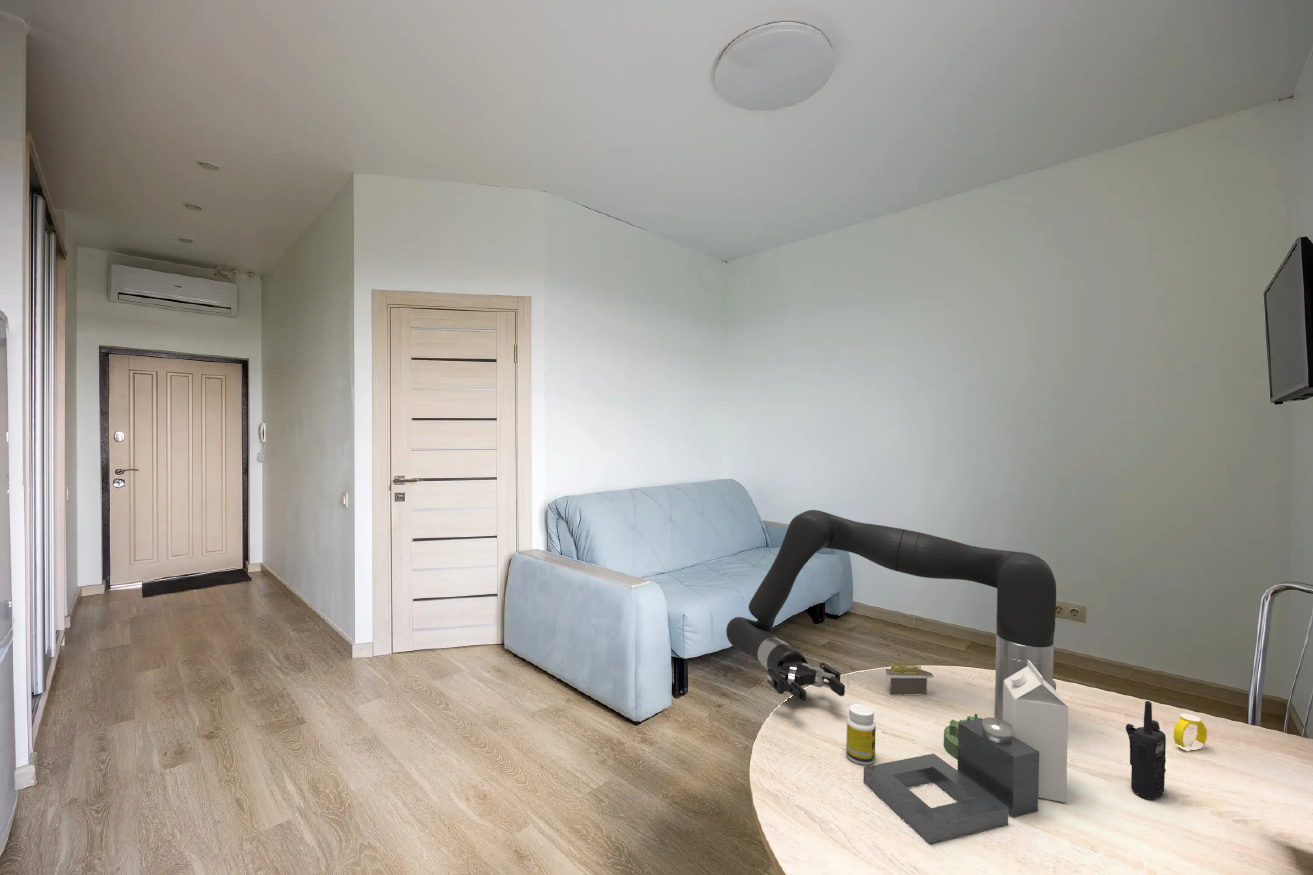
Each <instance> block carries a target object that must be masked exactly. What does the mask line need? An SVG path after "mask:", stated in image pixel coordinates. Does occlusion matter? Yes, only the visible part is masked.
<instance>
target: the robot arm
mask: <svg viewBox="0 0 1313 875" xmlns="http://www.w3.org/2000/svg"><path fill="white" fill-rule="evenodd" d="M785 532H786V533H785V536H784V537H783V540H782V543H781V546H780V548H779V550H778V553H777V555H776V557H775V559H774V561H773V563H772V565H771V567H770V568H769V570H768V572H767V574H766V575H765V576H764V578H763V580H762V581H761V583H760V584H759V586H758V588H757V590H756V591H755V593H754V595H752V598H751V600H750V601H749V603H748V611H749V613H750V614H751V615H752V616H753V617H754V618H755V619H756V620H752V619H749V618H746V617H744V616H743V617H741V616H736V617H734V618H732V619H730V620H729V622H728V623H727V625H726V629H725V632H726V633H725V635H726V638H727V640H728V642H729V644H731V645H732V647H734V648H735V649H736V650H738V651H741V652H742V653H745V654H746V655H749V656H751V657H752V658H753V659H754V660H755V661H757V662H758V663H759V664H760V666H762V667H763V669H764V670H765V671H766V672H767V674H766V675H767V676H766V682H767V683H768V684H769V685H770V686H771V688H773V689H774V691H775V692H776V693H777V694H780V695H782V694H783V695H784V693H785V692H787V694H789V695H792V696H793V697H794V698H795V699H797V700H799V701H800V702H802V703H803V702H806V701H807V691H806V690H805V688H803V686H809V685H810V686H812V687H813V686H814V687H817V688H820V689H821V688H822V687H825V688H829V689H830V690H831V691H832V692H834V693H835V694H836V695H838V696H839V697H845V693H846V691H845V690H846V685H845V684H844V683H842V682H841V676H842V675H841V672H840V671H838V670H836V669H835V668H833V667H832V666H830V665H829V664H828V663H825V662H820V663H819V666H814V665H812V664H809V663H808V661H807V659H806V658H805V656H804V655H803V654H802V653H801V652H800V651H798V650H797V649H796V648H794V647H793V646H791V645H790V644H789V643H787V642H786V641H784V640H782V639H780V638H778V637H777V636H776V635H774V634H772V631H773V628H774V624H775V621H776V618H777V616H778V614H780V611H781V610H782V608H783V607H784V605H785V603H786V602H787V600H788V597H789V596H790V594H791V591H792V588H793V586H794V584H795V582H796V580H797V578H798V576H799V574H800V573H801V571H802V569H803V568H804V566H805V565H806V564H807V563H808V562H809V561H810V559H812V557H813V556H814V555H816V553H817V552H819V551H821V550H822V549H830V550H831V549H832V550H837V551H843V552H848V553H852V554H855V555H858V556H860V557H862V558H864V559H866V560H868V561H870V562H872V563H874V564H876V565H878V566H880V567H883V568H885V569H887V570H890V571H894V572H898V573H903V574H907V575H911V576H914V577H920V578H926V579H927V578H928V579H938V580H962V581H969V582H974V583H977V584H982V585H984V586H987V587H988V586H989V587H992V588H995V589H996V595H997V596H996V623H995V624H996V630H995V632H996V633H995V634H996V638H995V640H996V642H995V643H996V644H995V684H994V686H995V687H994V718H998V719H1001V720H1003V685H1004V680H1005V679H1007V678H1008V677H1010V676H1012V675H1013V674H1015V673H1017V672H1018V671H1020V670H1022V669H1023V668H1025V667H1027V666H1028V660H1029V661H1030V662H1031V663H1032V664H1033V666H1034V667H1035V668H1036V669H1037V671H1038V672H1039V673H1040V674H1041V676H1042V677H1043V679H1044V680H1045V681H1046V682H1047V683H1048V684H1049V685H1050V686H1052V687H1053V689H1054V690H1055V691H1056V692H1057V683H1056V681H1055V680H1054V646H1055V645H1054V643H1055V642H1054V641H1055V640H1054V639H1055V632H1056V612H1057V609H1056V608H1057V583H1056V582H1057V581H1056V579H1055V575H1054V573H1053V571H1052V569H1051V567H1050V565H1049V564H1048V563H1047V562H1046V561H1045V560H1044V559H1042V558H1041V557H1039V556H1037V555H1035V554H1033V553H1029V552H1021V551H1015V550H1013V551H1012V550H1002V549H996V548H995V549H993V548H987V547H980V546H975V545H970V544H966V543H962V542H959V541H956V540H953V539H952V540H951V539H948V538H944V537H940V536H936V535H932V534H928V533H924V532H919V531H914V530H911V529H910V530H909V529H905V528H898V527H893V526H887V525H881V524H873V523H866V522H859V521H855V520H852V519H848V518H844V517H841V516H838V515H835V514H831V513H828V512H826V511H823V510H818V509H808V510H805V511H803V512H801V513H799V514H797V515H795V516H794V517H793V518H791V520H790V523H789V525H788V527H787V530H786V531H785ZM817 675H818V680H817V681H816V679H817V678H816V676H817ZM825 680H827V681H828V682H827V681H825Z"/></svg>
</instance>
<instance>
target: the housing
mask: <svg viewBox="0 0 1313 875" xmlns="http://www.w3.org/2000/svg"><path fill="white" fill-rule="evenodd" d="M981 718H982V719H976V720H970V721H965V722H959V725H958V760H957V769H956V768H954V767H953V766H952V765H951V764H949V763H948V762H946V761H945V760H944V759H943V758H941V757H940V756H938V755H937V754H935V753H930V754H925V755H924V754H923V755H920V756H914V757H910V758H904V759H899V760H898V759H897V760H894V761H888V762H884V763H879V764H871V765H867V766H863V784H865V785H866V787H867V788H869V789H870V790H871V791H872V792H873V793H874V794H875V795H876V796H878V797H879V799H880V800H882V801H883V803H885V804H886V806H888V807H889V808H890V809H891V810H892V811H893V812H894V813H895V814H896V815H898V817H900V818H901V820H902V821H904V822H905V823H906V824H908V826H909V827H910V828H911V829H912V830H914V832H916V834H918V835H919V837H921V838H922V839H923V840H924V841H925V842H927V843H928V845H933V844H937V843H941V842H946V841H949V840H953V839H957V838H961V837H964V836H965V837H966V836H968V835H973V834H977V833H981V832H985V831H988V830H993V829H997V828H1001V827H1005V826H1008V825H1009V816H1010V817H1011V818H1016V817H1020V816H1024V815H1028V814H1031V813H1036V812H1038V811H1039V798H1038V788H1039V751H1037V750H1036V749H1034V748H1032V747H1031V746H1029V745H1027V744H1025V743H1024V742H1022V741H1020V740H1019V739H1017V738H1015V737H1013V736H1012V725H1011V724H1009V723H1008V722H1006V721H1004V720H1001V719H998V718H995V717H992V716H991V717H990V716H988V717H987V716H986V717H984V718H983V717H981ZM930 783H933V784H935V785H936V786H937V787H938V788H940V789H941V790H942V791H944V792H945V793H946V794H947V795H948V796H950V797H951V798H953V800H955V801H956V802H951V803H948V804H944V805H940V806H934V807H931V806H929V805H928V804H927V803H926V802H924V801H923V800H922V799H921V798H920V797H919V796H917V795H916V794H915V793H914V792H913V791H912V790H910V788H911V787H912V788H913V787H916V786H921V785H925V784H930Z"/></svg>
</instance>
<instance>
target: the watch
mask: <svg viewBox="0 0 1313 875" xmlns="http://www.w3.org/2000/svg"><path fill="white" fill-rule="evenodd" d="M1189 725H1193V726H1195V725H1196V728H1197V729H1196V733H1197V734H1196V736H1195V739H1194V741H1195V740H1197V741H1199V742H1201V743H1203V744H1204V745H1206V743H1207V742H1206V741H1207V739H1208V730H1207V728H1206V725H1205V724H1204V722H1202V719H1201V718H1200V717H1198V716H1196V715H1194V714H1191V713H1180V714H1179V720H1178V721H1177V722H1176V724H1175V726H1174V728H1173V733H1172V734H1173V740H1174V744H1175V745H1176V744H1178V745H1181V746H1182V747H1185V746H1186V745H1185V744H1184V733H1185V731H1186V730H1187V727H1188V726H1189Z"/></svg>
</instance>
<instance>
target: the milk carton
mask: <svg viewBox="0 0 1313 875" xmlns="http://www.w3.org/2000/svg"><path fill="white" fill-rule="evenodd" d="M1003 720H1004V721H1006V722H1008V723H1009V724H1011V725H1012V736H1013V737H1015V738H1017V739H1019V740H1020V741H1022V742H1024V743H1025V744H1027V745H1029V746H1031V747H1032V748H1034V749H1036V750H1037V751H1039V788H1038V799H1039V798H1040V799H1044V800H1050V801H1055V802H1059V803H1065V804H1066V803H1067V781H1068V778H1067V777H1068V776H1067V774H1068V739H1069V738H1068V737H1069V736H1068V735H1069V733H1068V732H1069V731H1068V730H1069V705H1067V703H1066V702H1065V701H1064V700H1063V698H1062V697H1061V696H1060V695H1059V694H1058V692H1057V690H1056V691H1055V690H1054V689H1053V687H1052V686H1050V685H1049V684H1048V683H1047V682H1046V681H1045V680H1044V679H1043V677H1042V676H1041V674H1040V673H1039V672H1038V671H1037V669H1036V668H1035V667H1034V666H1033V664H1032V663H1031V662H1030V661H1029V660H1028V666H1027V667H1025V668H1023V669H1022V670H1020V671H1018V672H1017V673H1015V674H1013V675H1012V676H1010V677H1008V678H1007V679H1005V680H1004V685H1003Z"/></svg>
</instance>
